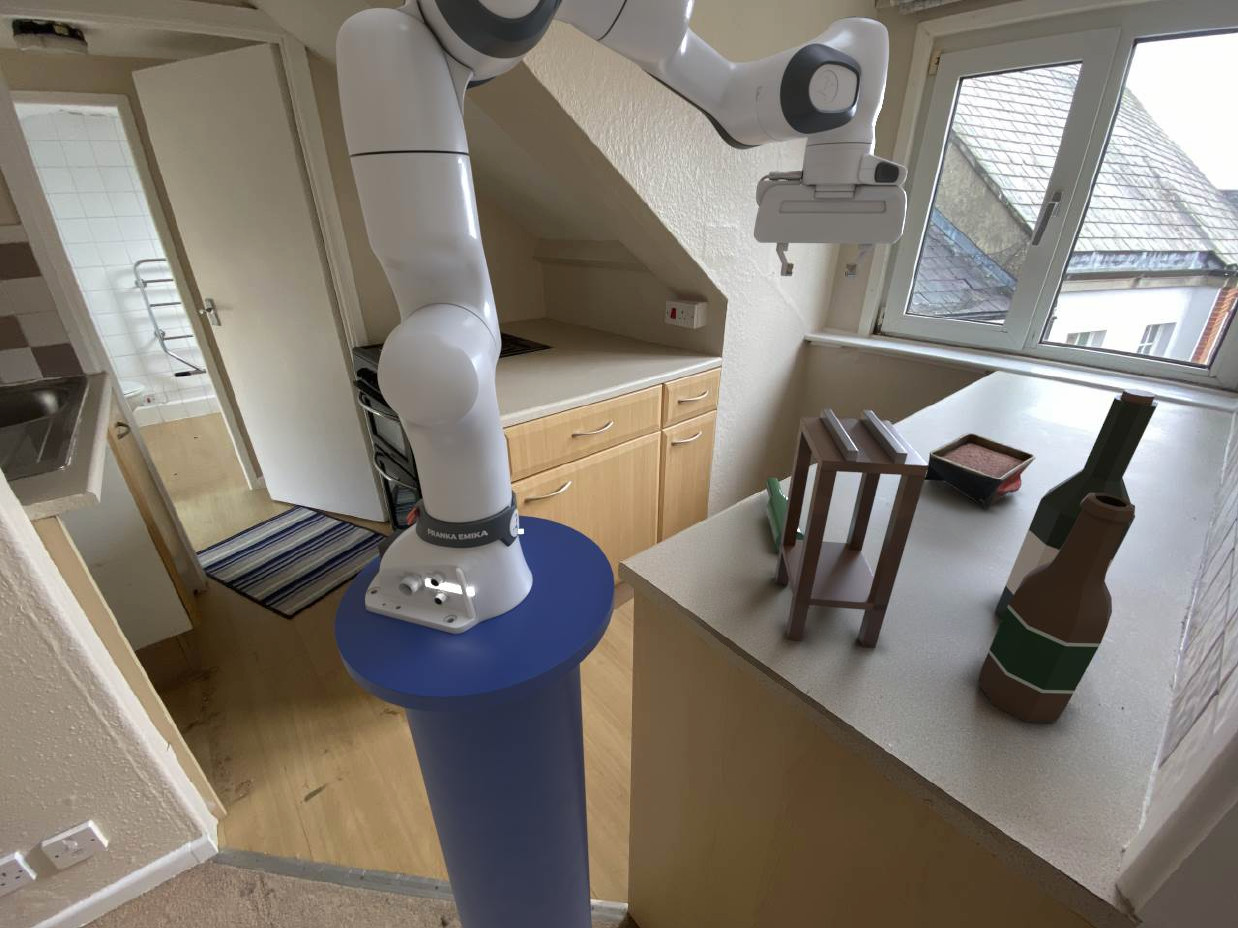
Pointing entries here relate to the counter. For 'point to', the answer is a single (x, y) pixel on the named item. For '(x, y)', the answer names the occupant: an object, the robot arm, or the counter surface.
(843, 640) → the counter surface
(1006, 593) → the wine bottle
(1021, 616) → the beer bottle
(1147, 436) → the counter surface
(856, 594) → the bottle rack
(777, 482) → the green bottle
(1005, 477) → the baking dish
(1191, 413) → the counter surface
